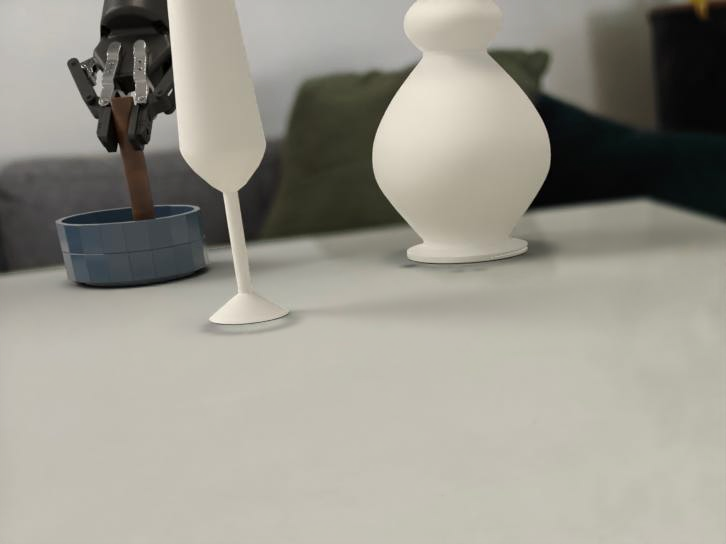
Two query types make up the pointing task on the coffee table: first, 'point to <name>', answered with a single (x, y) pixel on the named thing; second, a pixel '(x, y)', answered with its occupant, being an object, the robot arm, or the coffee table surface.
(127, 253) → the bowl
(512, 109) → the decorative vase
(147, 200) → the stirring stick
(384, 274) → the coffee table surface
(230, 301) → the champagne flute
